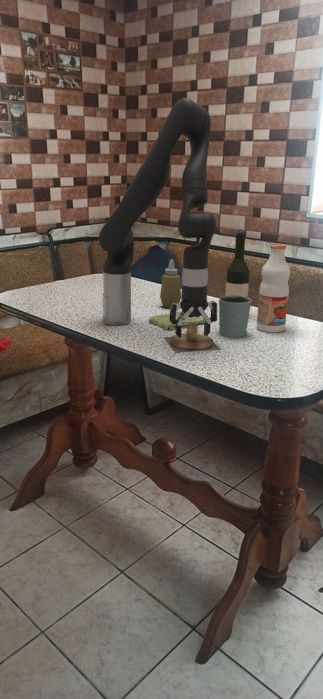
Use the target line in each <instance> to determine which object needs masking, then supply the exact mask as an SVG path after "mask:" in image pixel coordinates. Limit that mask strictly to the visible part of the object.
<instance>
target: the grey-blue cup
mask: <svg viewBox="0 0 323 699" xmlns="http://www.w3.org/2000/svg"><path fill="white" fill-rule="evenodd" d="M251 306H252V299H251V298H250V297H248V298H247V297H243V296H225V295H222V296H220V297H219V298H218V308H219V309H218V310H219V312H218V317H219V318H218V320H219V321H218V326H219V328H218V330H219V331H218V333H219V335H220V336H222V337H225V338H231V339H239V338H243V337H246V335H247V331H248V330H247V328H248V324H249V318H250V317H249V316H250V310H251Z"/></svg>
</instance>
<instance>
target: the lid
mask: <svg viewBox="0 0 323 699" xmlns="http://www.w3.org/2000/svg"><path fill="white" fill-rule="evenodd" d="M198 326H199V325H198V324H197V323H187V327H186V333H181V337H180V338H179V337H178V336H177V335H176V334H175V335H173V336H170V337H171V338H170V344H171V345H172V346H173V347H175V348H178V349H182V350H192V351H195V352H197V351H196V350H205V349H208V348H211V347H212V346H213V342H214V339H213V338H212V337H210V336H209V335H208V336H205V335H204V334H201V333H198Z"/></svg>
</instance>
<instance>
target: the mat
mask: <svg viewBox="0 0 323 699" xmlns="http://www.w3.org/2000/svg"><path fill="white" fill-rule="evenodd" d="M171 337H172V336H165V337H164V336H163V339H164V340H165V342H166V343H167V344H168V345H169V347H170V348H171V349H172V351H173V352H174V353H175V354H176V353H177V354H178V353H193V352H195V353H196V352H206V351H209V352H210V351H221V350H222V348H220V346H219V345H217V344H216V343H215V342H214V341H213V346H212V347H211V348H208V349H205V350H196V351H192V350H182V349H178V348H175V347H173V346H172V345H171V344H170V338H171Z"/></svg>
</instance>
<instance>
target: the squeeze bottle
mask: <svg viewBox="0 0 323 699" xmlns="http://www.w3.org/2000/svg"><path fill="white" fill-rule="evenodd" d="M164 273H165V274H163V275H162V278H161V285H160V292H159V293H160V294H159V297H160V298H159V299H160V302H161V305H162V307H163V308H165V309H170V304H171V303H172V302H173V303H180V302H181V294H182V285H181V276H180V275H179V274H178V268H175V262H174V259H173V258H171V259H169V263H168V266H167V268H165V269H164Z"/></svg>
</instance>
